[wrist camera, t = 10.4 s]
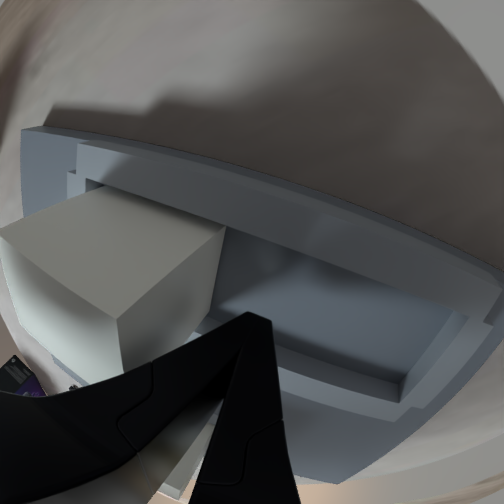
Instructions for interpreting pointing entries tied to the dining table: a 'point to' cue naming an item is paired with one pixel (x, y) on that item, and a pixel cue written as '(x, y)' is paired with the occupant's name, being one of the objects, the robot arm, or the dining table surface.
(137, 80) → the dining table surface
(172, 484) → the tab
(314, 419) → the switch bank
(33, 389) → the box
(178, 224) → the tab
